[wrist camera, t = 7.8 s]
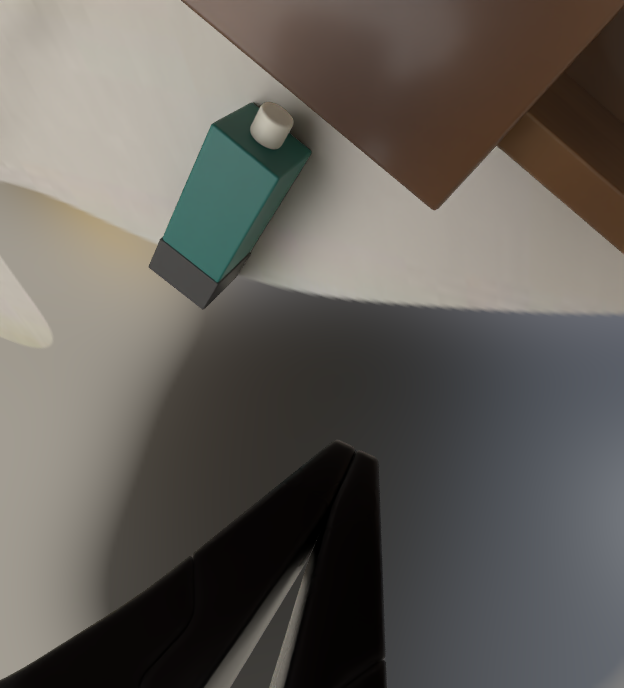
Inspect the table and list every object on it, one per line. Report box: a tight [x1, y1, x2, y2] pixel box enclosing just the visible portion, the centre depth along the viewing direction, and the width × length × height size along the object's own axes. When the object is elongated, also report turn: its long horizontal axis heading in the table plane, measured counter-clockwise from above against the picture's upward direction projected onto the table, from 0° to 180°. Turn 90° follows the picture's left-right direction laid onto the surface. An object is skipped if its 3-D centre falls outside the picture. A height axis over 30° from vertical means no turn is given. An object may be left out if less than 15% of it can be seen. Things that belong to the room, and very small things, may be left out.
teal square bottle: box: [149, 102, 311, 309], centre depth 20 cm, size 8×3×3 cm, turn 147°
